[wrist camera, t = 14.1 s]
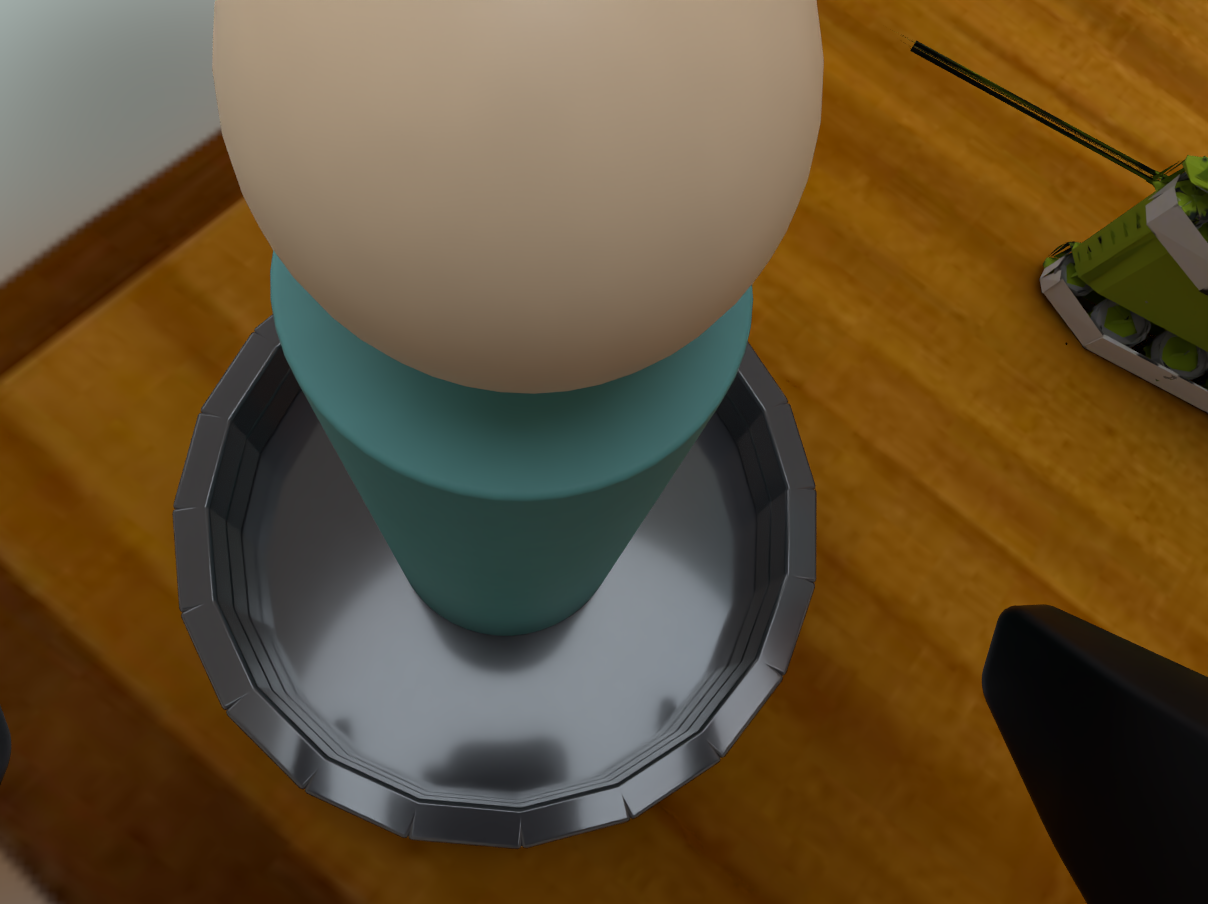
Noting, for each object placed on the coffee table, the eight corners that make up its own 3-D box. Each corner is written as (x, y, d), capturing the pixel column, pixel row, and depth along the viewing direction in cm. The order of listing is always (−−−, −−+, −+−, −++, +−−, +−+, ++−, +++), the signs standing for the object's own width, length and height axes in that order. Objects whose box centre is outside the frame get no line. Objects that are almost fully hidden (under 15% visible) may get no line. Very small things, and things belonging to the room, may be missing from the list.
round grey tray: (875, 518, 18) (931, 484, 16) (522, 974, 15) (527, 1018, 12) (498, 202, 20) (499, 129, 17) (93, 545, 16) (24, 513, 14)
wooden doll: (610, 417, 18) (904, -427, 5) (625, 629, 16) (1097, 217, 3) (395, 421, 17) (92, -529, 4) (392, 642, 16) (-75, 200, 3)
